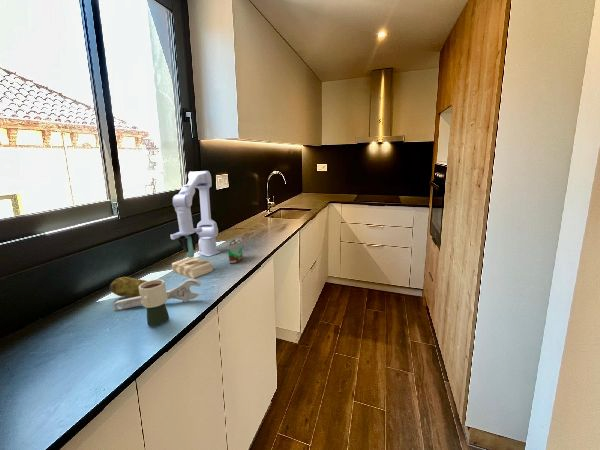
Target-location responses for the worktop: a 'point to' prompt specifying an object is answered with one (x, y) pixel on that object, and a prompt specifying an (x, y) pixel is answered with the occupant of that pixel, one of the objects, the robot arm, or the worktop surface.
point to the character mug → (154, 301)
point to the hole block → (192, 267)
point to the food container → (235, 251)
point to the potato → (126, 287)
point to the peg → (190, 247)
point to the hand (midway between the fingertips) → (189, 250)
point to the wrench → (176, 293)
